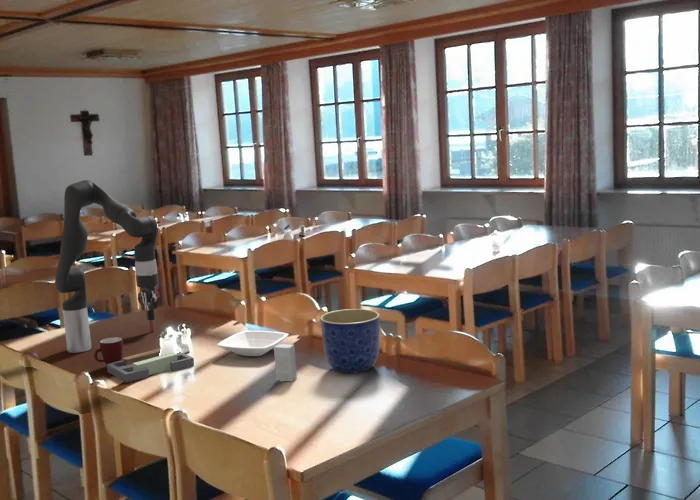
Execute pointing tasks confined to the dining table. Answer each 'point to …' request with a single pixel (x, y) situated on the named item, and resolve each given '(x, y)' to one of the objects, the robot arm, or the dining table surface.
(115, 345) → the mug
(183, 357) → the frame
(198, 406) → the dining table surface
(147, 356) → the walnut slat
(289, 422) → the dining table surface
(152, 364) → the sage slat
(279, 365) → the skincare box
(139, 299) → the lantern
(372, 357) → the planter
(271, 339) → the bowl
